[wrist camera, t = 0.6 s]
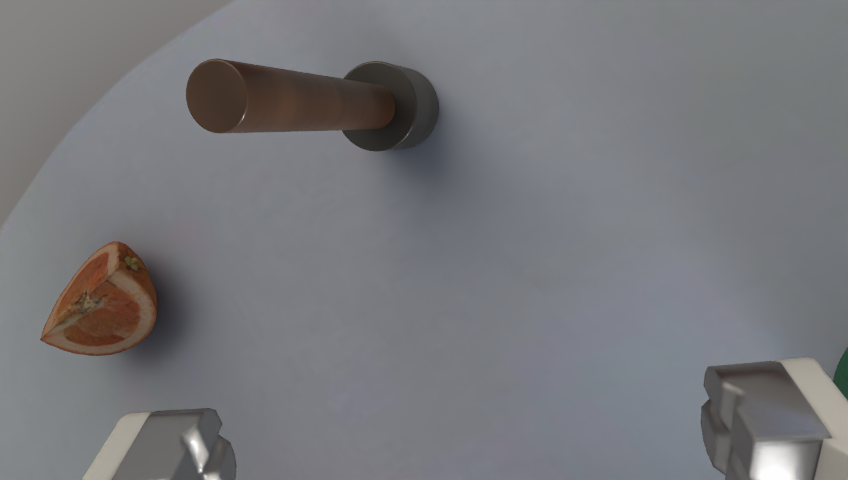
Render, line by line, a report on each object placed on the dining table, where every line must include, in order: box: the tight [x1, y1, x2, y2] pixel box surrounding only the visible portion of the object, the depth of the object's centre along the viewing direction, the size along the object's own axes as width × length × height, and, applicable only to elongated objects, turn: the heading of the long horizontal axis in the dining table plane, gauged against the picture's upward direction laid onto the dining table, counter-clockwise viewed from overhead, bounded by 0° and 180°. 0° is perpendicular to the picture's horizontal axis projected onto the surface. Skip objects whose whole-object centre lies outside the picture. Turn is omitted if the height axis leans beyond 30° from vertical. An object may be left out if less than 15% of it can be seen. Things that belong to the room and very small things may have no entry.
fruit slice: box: [40, 242, 157, 356], centre depth 40 cm, size 8×7×5 cm
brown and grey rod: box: [186, 59, 439, 151], centre depth 27 cm, size 4×4×17 cm
